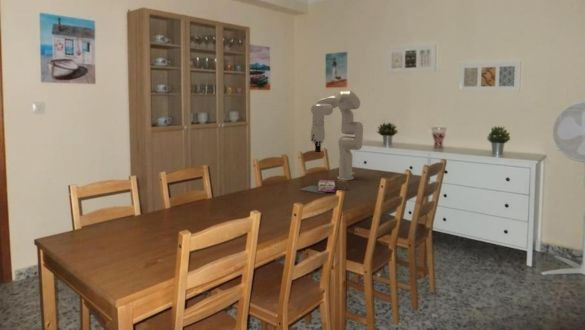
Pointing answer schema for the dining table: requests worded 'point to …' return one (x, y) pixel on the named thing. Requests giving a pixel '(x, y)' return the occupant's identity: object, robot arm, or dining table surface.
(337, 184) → the walnut block
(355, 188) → the dining table surface
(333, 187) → the candy bar box
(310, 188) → the slate mat
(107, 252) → the dining table surface
